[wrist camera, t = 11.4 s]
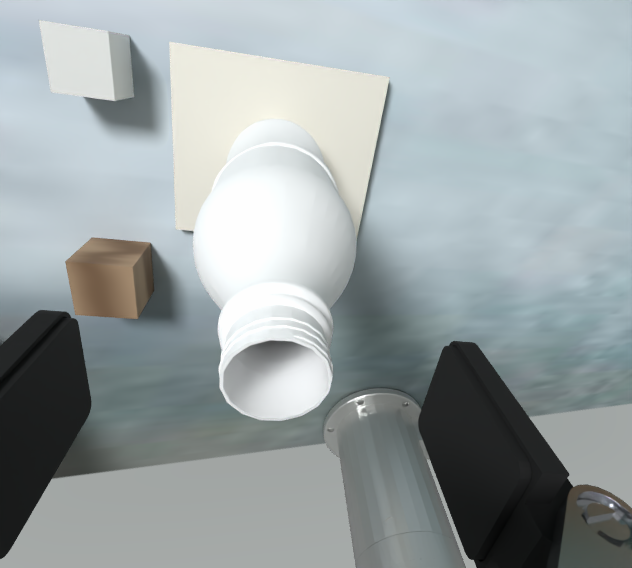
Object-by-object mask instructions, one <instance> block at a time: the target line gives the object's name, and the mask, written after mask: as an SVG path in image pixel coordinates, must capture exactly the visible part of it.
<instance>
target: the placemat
mask: <svg viewBox="0 0 632 568" xmlns="http://www.w3.org/2000/svg"><path fill="white" fill-rule="evenodd" d="M169 43H170V73H171V102H172V131H173V161H174V190H175V219H176V229H177V230H188V231H194V228H195V224H196V219H197V217H198V214H199V211H200V209H201V206H202V205H203V203H204V202H205V200H206V199H207V197H208V195H209V194H210V193H211V192H212V188H213V184H214V181H215V179H216V177H217V175H218V174H219V172H220V171H221V170H222V168H223V167H224V166H225V165H226V161H227V157H228V154H229V151H230V149H231V147H232V145H233V143H234V141H235V140H236V138H237V137H238V136H239V134H240V133H241V132H242V131H244V130H245V129H246V128H247V127H249V126H250V125H252V124H253V123H256V122H258V121H261V120H265V119H284V120H287V121H291V122H293V123H296V124H297V125H299V126H300V127H302V128H303V129H305V130H306V131H307V132H308V133H309V134H310V135H311V136H312V137H313V139H314V140H315V142H316V143H317V145H318V146H319V148H320V151H321V153H322V156H323V159H324V163H325V164H326V165H327V167H328V168H329V170H330V172H331V174H332V176H333V178H334V180H335V182H336V185H337V188H338V192H339V196H340V197H341V198H342V199H343V201H344V202H345V204H346V206H347V208H348V210H349V212H350V214H351V217H352V221H353V224H354V228H355V233H356V241H357V236H358V231H359V226H360V221H361V216H362V211H363V206H364V202H365V197H366V192H367V187H368V182H369V177H370V172H371V167H372V162H373V157H374V152H375V147H376V142H377V137H378V132H379V127H380V123H381V118H382V113H383V108H384V103H385V98H386V93H387V88H388V83H389V78H390V77H385V76H379V75H373V74H367V73H360V72H354V71H348V70H342V69H335V68H329V67H323V66H317V65H311V64H304V63H298V62H292V61H286V60H279V59H273V58H267V57H261V56H255V55H248V54H242V53H236V52H230V51H223V50H217V49H211V48H205V47H199V46H192V45H186V44H180V43H174V42H169Z"/></svg>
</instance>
